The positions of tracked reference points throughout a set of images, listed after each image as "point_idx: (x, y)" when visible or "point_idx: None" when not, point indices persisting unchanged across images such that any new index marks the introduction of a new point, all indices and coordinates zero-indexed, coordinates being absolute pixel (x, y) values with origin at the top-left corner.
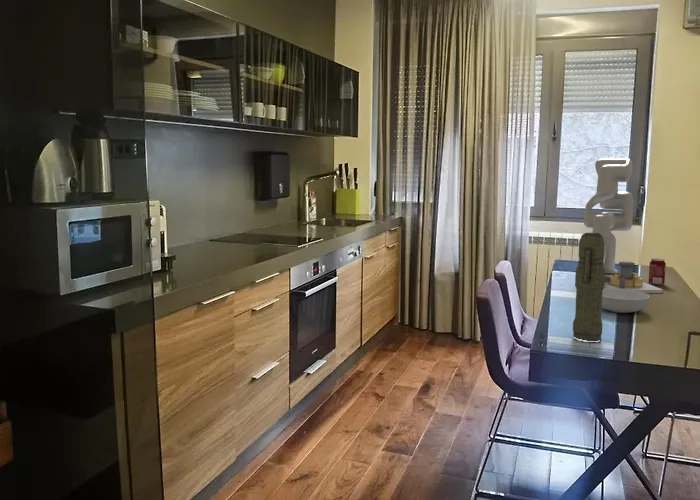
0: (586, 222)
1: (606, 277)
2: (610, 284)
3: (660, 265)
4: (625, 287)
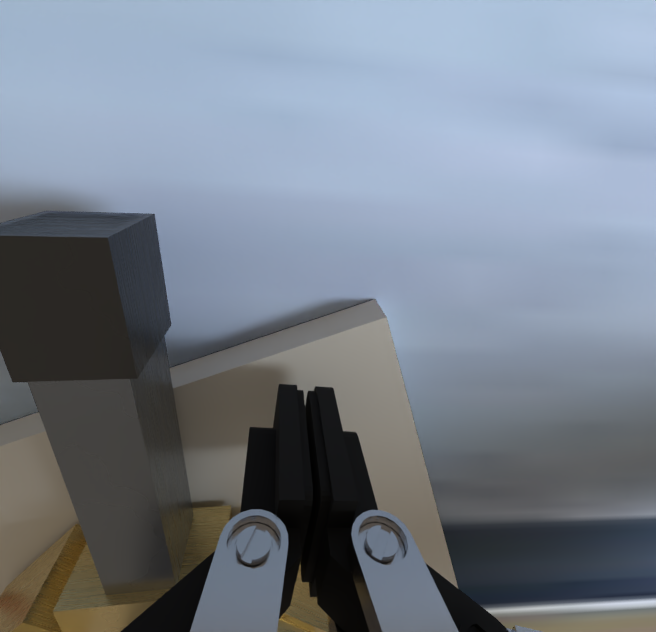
0: None
1: (94, 563)
2: None
3: None
4: None
